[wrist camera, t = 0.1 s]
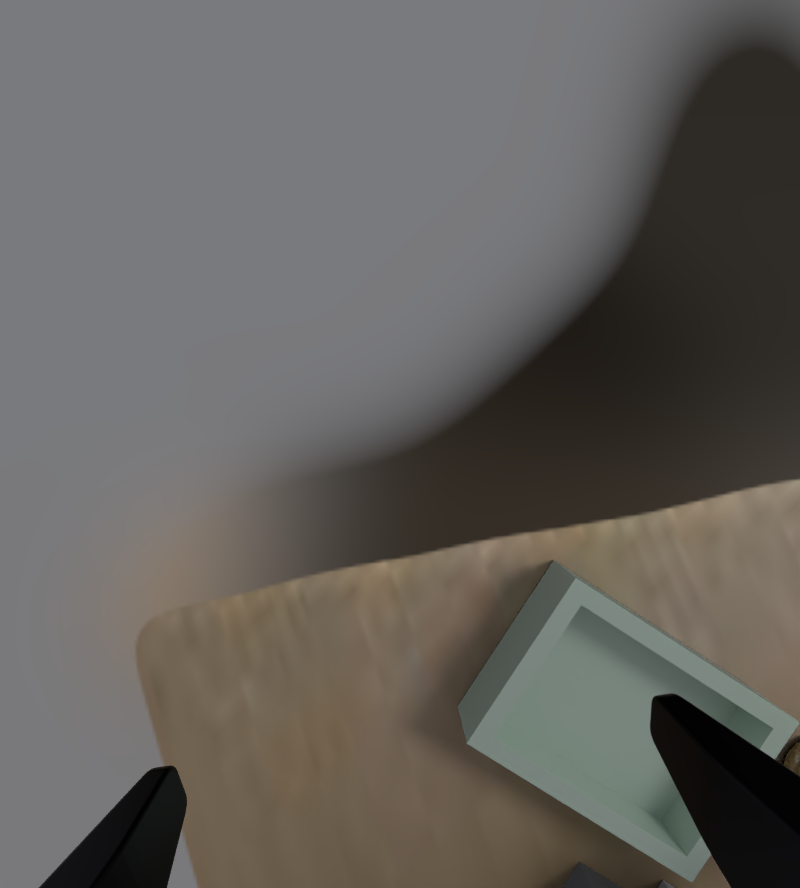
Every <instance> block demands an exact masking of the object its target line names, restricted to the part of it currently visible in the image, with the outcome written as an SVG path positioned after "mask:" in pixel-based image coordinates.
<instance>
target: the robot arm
mask: <svg viewBox="0 0 800 888" xmlns="http://www.w3.org/2000/svg"><path fill="white" fill-rule="evenodd" d="M650 732H651V736H652V739H653V742H654V744H655V746H656V748H657V750H658V752H659V754H660V756H661V758H662V760H663V762H664V764H665V766H666V768H667V770H668V772H669V774H670V776H671V778H672V780H673V782H674V784H675V786H676V788H677V790H678V792H679V794H680V796H681V798H682V800H683V802H684V804H685V806H686V808H687V809H688V811H689V813H690V815H691V817H692V819H693V821H694V823H695V825H696V827H697V829H698V831H699V833H700V835H701V837H702V839H703V841H704V842H705V844H706V846H707V848H708V849H709V851H710V853H711V855H712V856H713V858H714V860H715V861H716V863H717V865H718V866H719V868H720V870H721V871H722V873H723V875H724V876H725V878H726V880H727V881H728V883H729V885H730V886H731V888H800V776H799V775H797V774H796V773H794V772H793V771H791V770H790V769H788V768H787V767H785V766H784V765H782V764H781V763H779V762H778V761H776V760H775V759H773V758H772V757H770V756H769V755H767V754H766V753H764V752H763V751H762V750H760V749H759V748H757V747H756V746H754V745H753V744H751V743H750V742H748V741H747V740H745V739H744V738H742V737H741V736H739V735H738V734H736V733H735V732H733V731H732V730H730V729H729V728H727V727H726V726H724V725H723V724H721V723H720V722H718V721H717V720H715V719H714V718H712V717H711V716H709V715H708V714H706V713H705V712H703V711H702V710H700V709H699V708H697V707H696V706H694V705H693V704H691V703H690V702H688V701H687V700H685V699H684V698H682V697H681V696H679V695H677V694H674V693H669V694H662V695H656V696H654V697H653V699H652V702H651V717H650ZM186 807H187V797H186V793H185V790H184V788H183V785H182V782H181V780H180V777H179V774H178V772H177V769H176V768H175V767H174V766H163V767H157V768H153V769H151V770H149V771H148V772H147V773H146V774H145V775H144V776H143V777H142V778H141V779H140V780H139V781H138V782H137V783H136V784H135V785H134V786H133V787H132V788H131V790H130V791H129V792H128V793H127V794H126V795H125V796H124V797H123V798H122V799H121V800H120V801H119V802H118V803H117V805H116V806H115V807H114V808H113V809H112V810H111V811H110V812H109V813H108V814H107V815H106V816H105V817H104V818H103V820H102V821H101V822H100V823H99V824H98V825H97V826H96V827H95V828H94V829H93V830H92V831H91V832H90V833H89V835H88V836H87V837H86V838H85V839H84V840H83V841H82V842H81V843H80V844H79V845H78V846H77V847H76V848H75V850H74V851H73V852H72V853H71V854H70V855H69V856H68V857H67V858H66V859H65V860H64V861H63V862H62V864H60V866H59V867H58V868H57V869H56V870H55V871H54V872H53V873H52V874H51V876H49V877H48V878H47V879H46V881H45V882H44V883H43V884H42V885H41V886H40V887H39V888H167V885H168V881H169V877H170V873H171V868H172V865H173V861H174V856H175V853H176V848H177V844H178V841H179V837H180V833H181V829H182V825H183V821H184V817H185V813H186Z"/></svg>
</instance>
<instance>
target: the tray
mask: <svg viewBox="0 0 800 888" xmlns="http://www.w3.org/2000/svg"><path fill="white" fill-rule="evenodd" d="M669 693H674V694H677V695H679V696H681V697H682V698H684V699H685V700H687V701H688V702H690V703H691V704H693V705H694V706H696V707H697V708H699V709H700V710H702V711H703V712H705V713H706V714H708V715H709V716H711V717H712V718H714V719H715V720H717V721H718V722H720V723H721V724H723V725H724V726H726V727H727V728H729V729H730V730H732V731H733V732H735V733H736V734H738V735H739V736H741V737H742V738H744V739H745V740H747V741H748V742H750V743H751V744H753V745H754V746H756V747H757V748H759V749H760V750H762V751H763V752H764V753H766V754H767V755H769V756H770V757H772V758H773V759H776V757H777V756H778V754H779V753H780V751H781V750H782V748H783V747H784V745H785V744H786V742H787V741H788V739H789V738H790V736H791V735H792V733H793V732H794V730H795V729H796V728H797V726H798V725H799V723H800V722H799V721H797V720H796V719H794V718H793V717H792V716H790V715H789V714H787V713H786V712H785V711H783V710H782V709H780V708H779V707H778V706H776V705H775V704H773V703H772V702H771V701H769V700H768V699H766V698H765V697H764V696H762V695H761V694H759V693H758V692H757V691H755V690H754V689H752V688H751V687H749V686H748V685H746V684H745V683H743V682H742V681H740V680H738V679H737V678H735V677H734V676H732V675H731V674H729V673H728V672H726V671H724V670H723V669H721V668H720V667H718V666H717V665H715V664H714V663H712V662H711V661H709V660H707V659H706V658H704V657H703V656H701V655H700V654H698V653H697V652H695V651H694V650H692V649H690V648H689V647H687V646H686V645H684V644H683V643H681V642H680V641H678V640H676V639H675V638H673V637H672V636H670V635H669V634H667V633H666V632H664V631H663V630H661V629H659V628H658V627H656V626H655V625H653V624H652V623H650V622H649V621H647V620H645V619H644V618H642V617H641V616H639V615H638V614H636V613H635V612H633V611H632V610H630V609H628V608H627V607H625V606H624V605H622V604H621V603H619V602H618V601H616V600H615V599H613V598H611V597H610V596H608V595H607V594H605V593H604V592H602V591H601V590H599V589H597V588H596V587H594V586H593V585H591V584H590V583H588V582H587V581H585V580H584V579H582V578H580V577H579V576H577V575H576V574H574V573H573V572H571V571H570V570H568V569H567V568H565V567H563V566H562V565H560V564H559V563H557V562H556V561H554V560H553V562H552V563H551V565H550V566H549V568H548V569H547V571H546V573H545V574H544V576H543V577H542V579H541V580H540V582H539V583H538V585H537V586H536V588H535V589H534V591H533V592H532V594H531V595H530V597H529V598H528V600H527V601H526V603H525V604H524V606H523V607H522V609H521V611H520V612H519V614H518V615H517V617H516V618H515V620H514V621H513V623H512V624H511V626H510V627H509V629H508V630H507V632H506V633H505V635H504V636H503V638H502V639H501V641H500V642H499V644H498V646H497V647H496V649H495V650H494V652H493V653H492V655H491V656H490V658H489V659H488V661H487V662H486V664H485V665H484V667H483V668H482V670H481V671H480V673H479V674H478V676H477V677H476V679H475V680H474V682H473V684H472V685H471V687H470V688H469V690H468V691H467V693H466V694H465V696H464V697H463V699H462V700H461V702H460V703H459V705H458V710H459V715H460V719H461V723H462V727H463V731H464V735H465V739H466V743H467V744H468V745H470V746H471V747H473V748H475V749H476V750H478V751H480V752H481V753H483V754H484V755H486V756H488V757H489V758H491V759H492V760H494V761H496V762H497V763H499V764H501V765H502V766H504V767H505V768H507V769H509V770H510V771H512V772H514V773H515V774H517V775H518V776H520V777H522V778H523V779H525V780H526V781H528V782H530V783H531V784H533V785H535V786H536V787H538V788H539V789H541V790H543V791H544V792H546V793H547V794H549V795H551V796H552V797H554V798H556V799H557V800H559V801H560V802H562V803H564V804H565V805H567V806H569V807H570V808H572V809H573V810H575V811H577V812H578V813H580V814H581V815H583V816H585V817H586V818H588V819H590V820H591V821H593V822H594V823H596V824H598V825H599V826H601V827H603V828H604V829H606V830H607V831H609V832H611V833H612V834H614V835H615V836H617V837H619V838H620V839H622V840H624V841H625V842H627V843H628V844H630V845H632V846H633V847H635V848H636V849H638V850H640V851H641V852H643V853H645V854H646V855H648V856H649V857H651V858H653V859H654V860H656V861H658V862H659V863H661V864H662V865H664V866H666V867H667V868H669V869H670V870H672V871H674V872H675V873H677V874H679V875H680V876H682V877H683V878H685V879H687V880H688V881H690V882H691V883H692V882H693V881H694V879H695V878H696V876H697V875H698V873H699V872H700V870H701V869H702V867H703V866H704V864H705V863H706V861H707V860H708V858H709V857H710V855H711V853H710V851H709V849H708V848H707V846H706V844H705V842H704V841H703V839H702V837H701V835H700V833H699V831H698V829H697V827H696V825H695V823H694V821H693V819H692V817H691V815H690V813H689V811H688V809H687V808H686V806H685V804H684V802H683V800H682V798H681V796H680V794H679V792H678V790H677V788H676V786H675V784H674V782H673V780H672V778H671V776H670V774H669V772H668V770H667V768H666V766H665V764H664V762H663V760H662V758H661V756H660V754H659V752H658V750H657V748H656V746H655V744H654V742H653V739H652V736H651V732H650V717H651V702H652V699H653V697H654V696H656V695H662V694H669Z"/></svg>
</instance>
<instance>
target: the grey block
mask: <svg viewBox="0 0 800 888" xmlns="http://www.w3.org/2000/svg"><path fill="white" fill-rule="evenodd" d="M562 888H622V887H620V886H618V885H617V884H615V883H613V882H612V881H610V880H609V879H607V878H605V877H604V876H602V875H600V874H599V873H597V872H595V871H594V870H592V869H591V868H589V867H587V866H586V865H584V864H582V863H581V862H579V863H578V865H577V866H576V868H575V869H574V871H573V872H572V874H571V875H570V877H569V878H568V880H567V881H566V883H565V884H564V886H563V887H562Z"/></svg>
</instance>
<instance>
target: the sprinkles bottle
mask: <svg viewBox="0 0 800 888" xmlns="http://www.w3.org/2000/svg"><path fill="white" fill-rule="evenodd" d="M784 766H785V767H787V768H788V769H790V770H791V771H793V772H794V773H796V774H797V775H799V776H800V742H799V743H796V745H795V746H794V747H793V748H792V749H791V750H790V751H789V752H788V754H787V755H786V758H785V761H784Z"/></svg>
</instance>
